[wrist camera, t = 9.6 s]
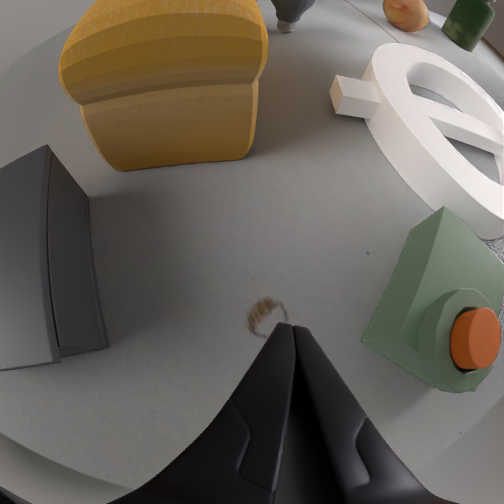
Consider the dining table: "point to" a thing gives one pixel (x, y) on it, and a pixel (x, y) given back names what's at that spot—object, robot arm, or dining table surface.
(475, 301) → the control block
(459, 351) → the button
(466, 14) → the green bottle
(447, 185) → the white circle with bar
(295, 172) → the dining table surface
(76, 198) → the charcoal lidded box
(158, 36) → the bread
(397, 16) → the orange-brown rounded lump
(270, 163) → the dining table surface
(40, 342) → the fryer lid
